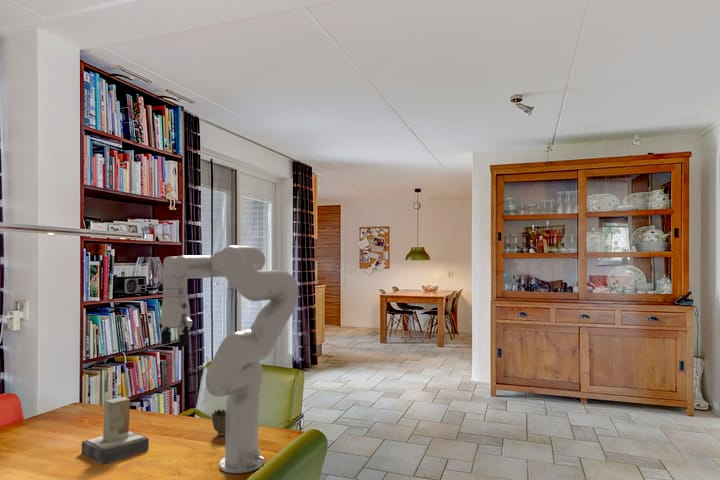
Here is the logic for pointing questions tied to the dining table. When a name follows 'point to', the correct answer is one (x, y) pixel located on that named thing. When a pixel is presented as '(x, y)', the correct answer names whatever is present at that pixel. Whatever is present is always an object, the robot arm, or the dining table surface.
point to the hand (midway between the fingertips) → (174, 345)
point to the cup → (219, 422)
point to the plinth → (114, 447)
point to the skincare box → (116, 419)
